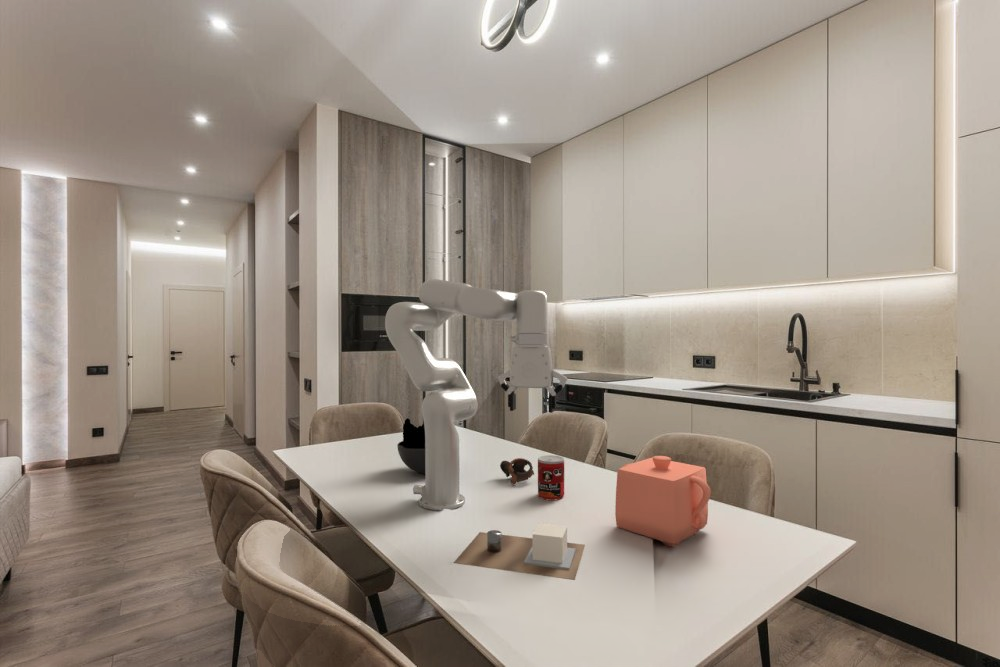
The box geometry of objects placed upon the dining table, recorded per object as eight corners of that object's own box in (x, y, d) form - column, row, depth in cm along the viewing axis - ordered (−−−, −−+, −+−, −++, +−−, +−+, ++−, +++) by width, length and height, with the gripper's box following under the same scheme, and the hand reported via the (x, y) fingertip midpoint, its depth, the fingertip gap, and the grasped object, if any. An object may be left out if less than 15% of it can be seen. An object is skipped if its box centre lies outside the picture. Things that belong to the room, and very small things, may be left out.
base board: (453, 570, 96) (453, 562, 96) (479, 538, 111) (479, 532, 111) (574, 587, 89) (574, 579, 89) (585, 551, 104) (585, 544, 104)
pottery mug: (537, 479, 161) (539, 461, 157) (525, 499, 154) (527, 480, 149) (504, 466, 165) (505, 448, 161) (492, 485, 158) (492, 466, 154)
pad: (523, 563, 96) (523, 561, 96) (533, 545, 104) (533, 543, 104) (569, 570, 93) (569, 567, 93) (575, 550, 102) (575, 548, 102)
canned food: (534, 498, 140) (534, 460, 140) (542, 490, 147) (542, 454, 147) (560, 501, 137) (560, 462, 137) (567, 493, 144) (567, 456, 144)
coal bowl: (463, 466, 175) (463, 414, 175) (444, 482, 156) (444, 423, 156) (411, 463, 180) (411, 412, 180) (387, 478, 160) (387, 421, 160)
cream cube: (532, 559, 97) (532, 534, 97) (538, 547, 102) (538, 523, 102) (562, 563, 95) (562, 537, 95) (567, 550, 101) (567, 526, 101)
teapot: (651, 505, 134) (651, 440, 135) (737, 527, 118) (736, 453, 118) (600, 529, 117) (600, 455, 117) (692, 559, 101) (691, 473, 101)
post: (485, 551, 101) (485, 534, 101) (489, 545, 104) (489, 529, 104) (499, 553, 100) (499, 536, 100) (503, 547, 103) (503, 531, 103)
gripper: (493, 341, 118) (493, 411, 117) (564, 341, 113) (564, 414, 112) (502, 341, 125) (502, 407, 125) (569, 341, 120) (569, 410, 120)
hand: (531, 411), depth 118 cm, fingers open, 9 cm apart
